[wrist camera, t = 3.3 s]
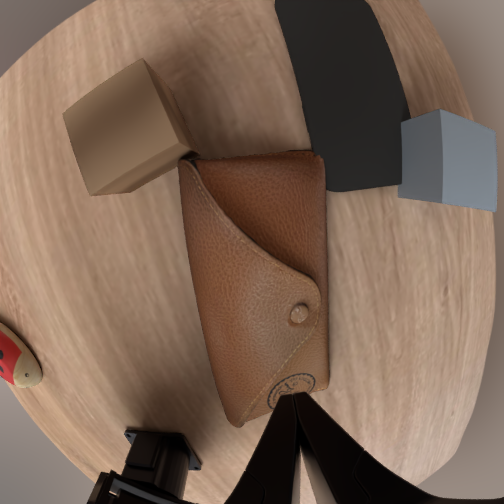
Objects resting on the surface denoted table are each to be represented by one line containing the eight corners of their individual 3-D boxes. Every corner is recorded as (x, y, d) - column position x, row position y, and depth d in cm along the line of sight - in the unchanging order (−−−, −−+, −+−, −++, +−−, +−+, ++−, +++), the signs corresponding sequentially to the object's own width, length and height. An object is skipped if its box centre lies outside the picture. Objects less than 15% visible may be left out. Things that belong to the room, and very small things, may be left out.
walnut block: (200, 154, 16) (178, 142, 11) (131, 192, 16) (89, 196, 11) (170, 89, 15) (142, 57, 10) (105, 127, 15) (62, 113, 10)
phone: (366, -4, 12) (423, 181, 15) (363, 2, 13) (417, 181, 16) (270, -6, 12) (321, 195, 16) (269, 0, 13) (318, 195, 16)
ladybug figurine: (46, 391, 21) (31, 409, 17) (-9, 346, 20) (-25, 359, 16) (44, 350, 19) (24, 368, 16) (-14, 302, 18) (-34, 314, 15)
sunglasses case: (335, 391, 19) (302, 454, 14) (258, 375, 23) (213, 424, 17) (323, 142, 15) (273, 126, 10) (226, 159, 19) (152, 160, 13)
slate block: (450, 204, 16) (496, 212, 11) (397, 197, 16) (441, 203, 11) (450, 137, 15) (495, 131, 10) (396, 124, 15) (439, 108, 10)
